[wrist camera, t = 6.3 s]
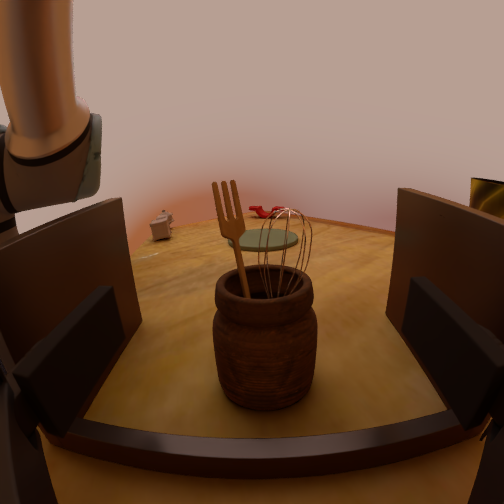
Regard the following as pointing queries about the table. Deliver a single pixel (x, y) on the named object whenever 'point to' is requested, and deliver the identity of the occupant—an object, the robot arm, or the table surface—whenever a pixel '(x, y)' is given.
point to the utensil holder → (262, 321)
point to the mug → (487, 196)
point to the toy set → (161, 225)
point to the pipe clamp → (261, 211)
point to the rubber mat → (265, 239)
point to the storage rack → (239, 449)
